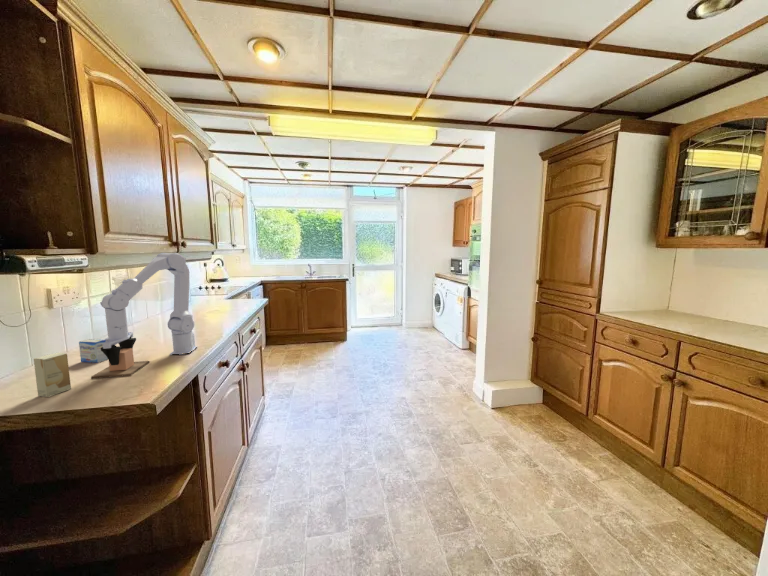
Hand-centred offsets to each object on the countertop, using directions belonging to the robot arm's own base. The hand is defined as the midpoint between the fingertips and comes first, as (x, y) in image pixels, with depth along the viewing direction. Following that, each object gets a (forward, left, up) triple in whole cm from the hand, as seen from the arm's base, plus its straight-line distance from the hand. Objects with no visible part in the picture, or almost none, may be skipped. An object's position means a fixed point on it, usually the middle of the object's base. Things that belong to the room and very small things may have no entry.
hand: (121, 361), depth 115 cm
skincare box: (+16, -10, -4) cm, 19 cm away
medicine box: (-14, -17, -4) cm, 22 cm away
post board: (0, 0, -4) cm, 4 cm away
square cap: (0, 0, -3) cm, 3 cm away
